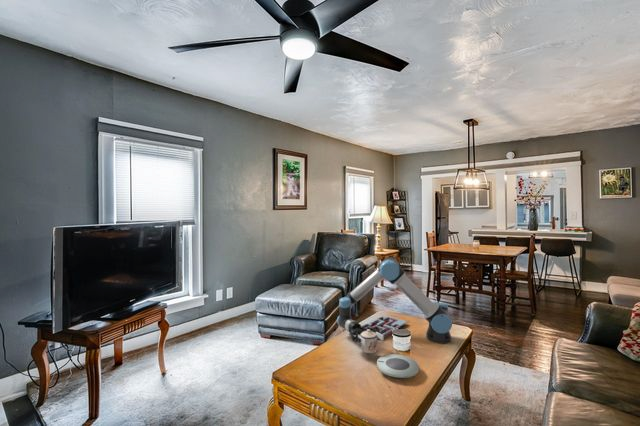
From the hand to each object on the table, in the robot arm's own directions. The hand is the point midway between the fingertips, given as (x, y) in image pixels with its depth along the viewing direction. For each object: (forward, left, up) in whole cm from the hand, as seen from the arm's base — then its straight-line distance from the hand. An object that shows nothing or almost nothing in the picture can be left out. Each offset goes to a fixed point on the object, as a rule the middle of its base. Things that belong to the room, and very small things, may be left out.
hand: (374, 340), depth 173 cm
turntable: (-14, +10, -8) cm, 19 cm away
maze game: (+1, -45, -11) cm, 46 cm away
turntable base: (-14, +10, -10) cm, 20 cm away
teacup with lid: (+3, -3, -7) cm, 8 cm away
